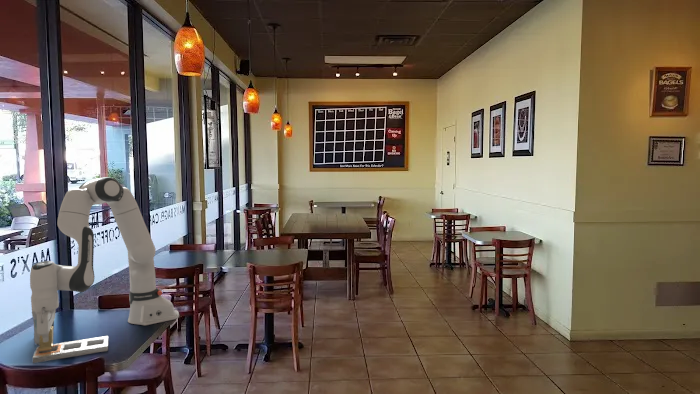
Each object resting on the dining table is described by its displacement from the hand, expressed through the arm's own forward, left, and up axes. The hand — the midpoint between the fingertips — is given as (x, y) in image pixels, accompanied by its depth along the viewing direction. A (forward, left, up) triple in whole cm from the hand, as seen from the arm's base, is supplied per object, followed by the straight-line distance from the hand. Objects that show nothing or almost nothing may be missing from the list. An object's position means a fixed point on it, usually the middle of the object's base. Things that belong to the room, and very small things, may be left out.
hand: (47, 339), depth 183 cm
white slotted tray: (-8, 0, -6) cm, 11 cm away
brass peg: (0, 0, -4) cm, 4 cm away
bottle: (+3, -15, -7) cm, 17 cm away
